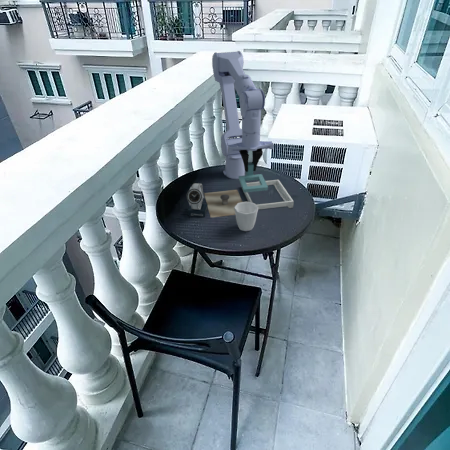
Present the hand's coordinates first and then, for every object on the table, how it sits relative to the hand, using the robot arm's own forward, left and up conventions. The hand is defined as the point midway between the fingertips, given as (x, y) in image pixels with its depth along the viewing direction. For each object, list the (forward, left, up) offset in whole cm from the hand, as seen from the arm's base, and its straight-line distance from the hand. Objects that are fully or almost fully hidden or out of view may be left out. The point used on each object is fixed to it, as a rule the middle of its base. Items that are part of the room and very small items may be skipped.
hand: (250, 170), depth 111 cm
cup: (+18, -6, -10) cm, 22 cm away
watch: (+9, -19, -10) cm, 23 cm away
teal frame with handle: (+4, 0, -3) cm, 5 cm away
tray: (+3, +5, -10) cm, 12 cm away
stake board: (+4, -10, -10) cm, 15 cm away
